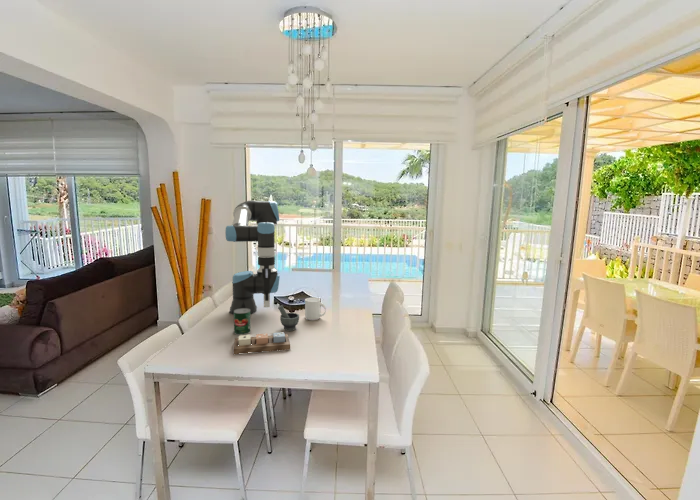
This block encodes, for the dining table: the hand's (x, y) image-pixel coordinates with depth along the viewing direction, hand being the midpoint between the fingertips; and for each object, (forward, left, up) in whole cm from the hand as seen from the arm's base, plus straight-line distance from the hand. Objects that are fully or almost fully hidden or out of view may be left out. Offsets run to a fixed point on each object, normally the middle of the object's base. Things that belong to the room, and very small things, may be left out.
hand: (266, 306), depth 162 cm
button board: (+2, -6, -17) cm, 18 cm away
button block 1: (-3, -11, -15) cm, 19 cm away
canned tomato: (-18, +2, -17) cm, 25 cm away
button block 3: (+8, -1, -15) cm, 16 cm away
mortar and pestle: (-2, +18, -17) cm, 25 cm away
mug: (+1, +39, -17) cm, 42 cm away
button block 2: (+2, -6, -15) cm, 16 cm away
